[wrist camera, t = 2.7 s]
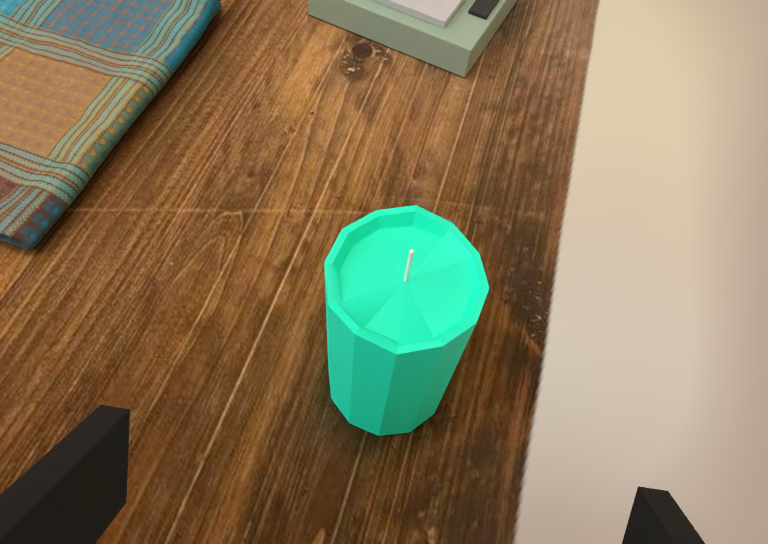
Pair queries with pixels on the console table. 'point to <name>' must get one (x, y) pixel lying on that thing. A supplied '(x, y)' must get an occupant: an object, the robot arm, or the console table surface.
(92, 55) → the dish towel
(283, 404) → the console table surface
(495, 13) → the scale
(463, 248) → the candle
